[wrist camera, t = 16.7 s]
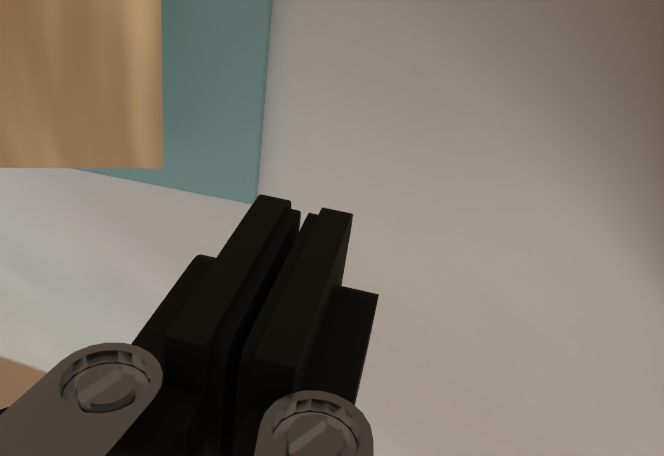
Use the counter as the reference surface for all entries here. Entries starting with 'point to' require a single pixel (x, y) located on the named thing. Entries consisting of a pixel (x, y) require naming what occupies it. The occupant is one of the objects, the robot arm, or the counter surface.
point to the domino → (81, 84)
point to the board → (210, 98)
